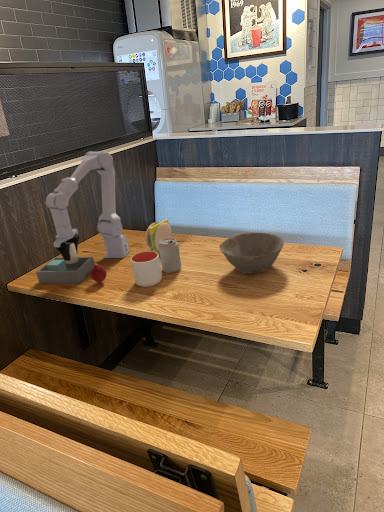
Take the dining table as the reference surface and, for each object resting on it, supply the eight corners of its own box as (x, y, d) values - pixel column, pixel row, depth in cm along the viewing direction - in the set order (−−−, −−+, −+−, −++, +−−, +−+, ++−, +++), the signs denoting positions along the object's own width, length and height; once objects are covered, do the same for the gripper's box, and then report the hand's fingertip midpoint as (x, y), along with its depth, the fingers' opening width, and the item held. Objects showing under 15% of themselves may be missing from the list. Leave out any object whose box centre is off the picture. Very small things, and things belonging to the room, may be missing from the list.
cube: (67, 270, 159) (64, 259, 157) (60, 276, 155) (57, 265, 153) (56, 270, 161) (53, 259, 159) (49, 276, 156) (46, 265, 154)
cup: (141, 291, 138) (136, 265, 134) (131, 280, 146) (126, 256, 142) (166, 282, 141) (162, 257, 137) (156, 272, 150) (152, 248, 146)
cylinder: (80, 258, 155) (76, 242, 152) (74, 263, 151) (70, 247, 148) (69, 258, 157) (65, 242, 154) (63, 263, 152) (58, 247, 149)
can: (179, 273, 147) (174, 243, 142) (160, 273, 148) (155, 244, 144) (183, 265, 153) (179, 236, 149) (165, 265, 155) (160, 237, 150)
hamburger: (160, 243, 178) (156, 218, 173) (175, 245, 174) (172, 219, 169) (144, 253, 169) (139, 227, 164) (159, 255, 165) (154, 229, 160)
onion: (111, 279, 149) (106, 260, 146) (103, 286, 144) (98, 267, 141) (97, 278, 151) (93, 259, 148) (89, 285, 146) (84, 266, 143)
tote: (95, 267, 161) (93, 256, 159) (79, 283, 149) (76, 271, 147) (57, 268, 165) (54, 257, 163) (39, 283, 153) (35, 271, 151)
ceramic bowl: (296, 263, 143) (296, 237, 139) (261, 289, 129) (259, 262, 125) (246, 252, 158) (245, 228, 154) (209, 274, 143) (207, 249, 139)
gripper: (63, 218, 155) (71, 250, 160) (42, 231, 142) (52, 265, 148) (79, 217, 153) (86, 249, 159) (59, 231, 140) (68, 265, 146)
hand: (71, 257), depth 153 cm, fingers closed on cylinder, 5 cm apart
